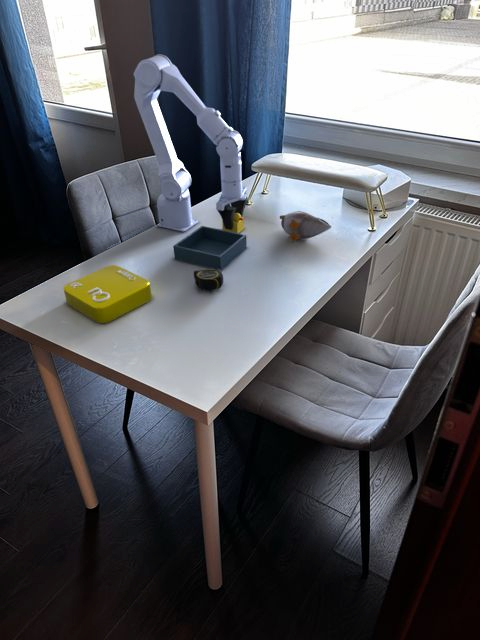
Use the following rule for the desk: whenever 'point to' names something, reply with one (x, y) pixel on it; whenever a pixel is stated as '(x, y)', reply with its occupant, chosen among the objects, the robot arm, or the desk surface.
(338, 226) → the desk surface
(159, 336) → the desk surface
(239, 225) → the rubber duck
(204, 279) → the tape measure
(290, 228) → the decorative duck model
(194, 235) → the blue square tray
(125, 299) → the element tile
